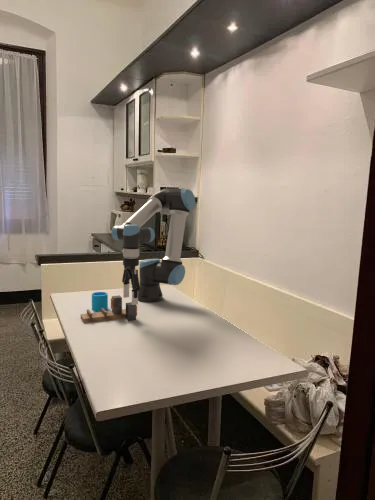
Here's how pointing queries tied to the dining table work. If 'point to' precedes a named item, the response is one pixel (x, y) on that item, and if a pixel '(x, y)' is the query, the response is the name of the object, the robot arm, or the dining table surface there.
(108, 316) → the rail
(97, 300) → the mug
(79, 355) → the dining table surface
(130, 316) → the dark grey upright block
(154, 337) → the dining table surface
